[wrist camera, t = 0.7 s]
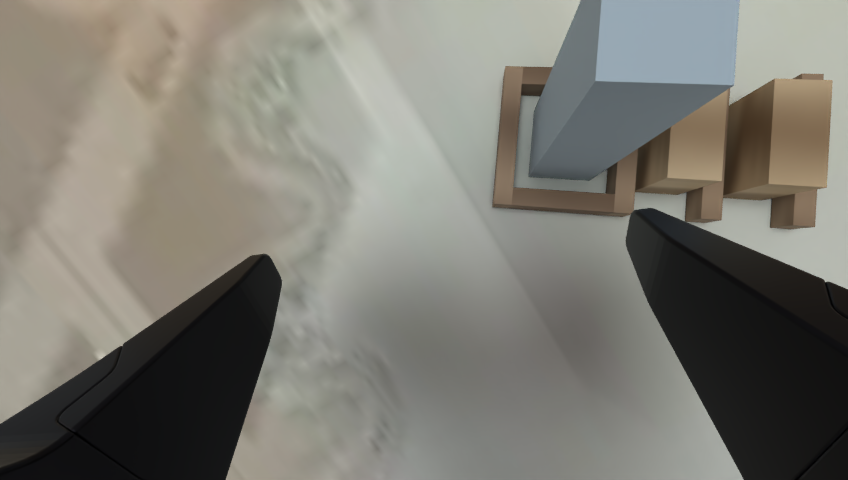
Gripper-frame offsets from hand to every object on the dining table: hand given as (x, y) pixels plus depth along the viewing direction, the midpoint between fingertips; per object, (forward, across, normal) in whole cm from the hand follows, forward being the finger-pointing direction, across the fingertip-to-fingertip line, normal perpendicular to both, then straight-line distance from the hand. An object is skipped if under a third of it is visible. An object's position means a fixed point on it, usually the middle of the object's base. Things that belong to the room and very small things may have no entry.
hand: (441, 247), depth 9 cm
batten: (+14, -7, +4) cm, 16 cm away
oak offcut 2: (+13, -16, +6) cm, 22 cm away
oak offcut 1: (+14, -12, +5) cm, 19 cm away
